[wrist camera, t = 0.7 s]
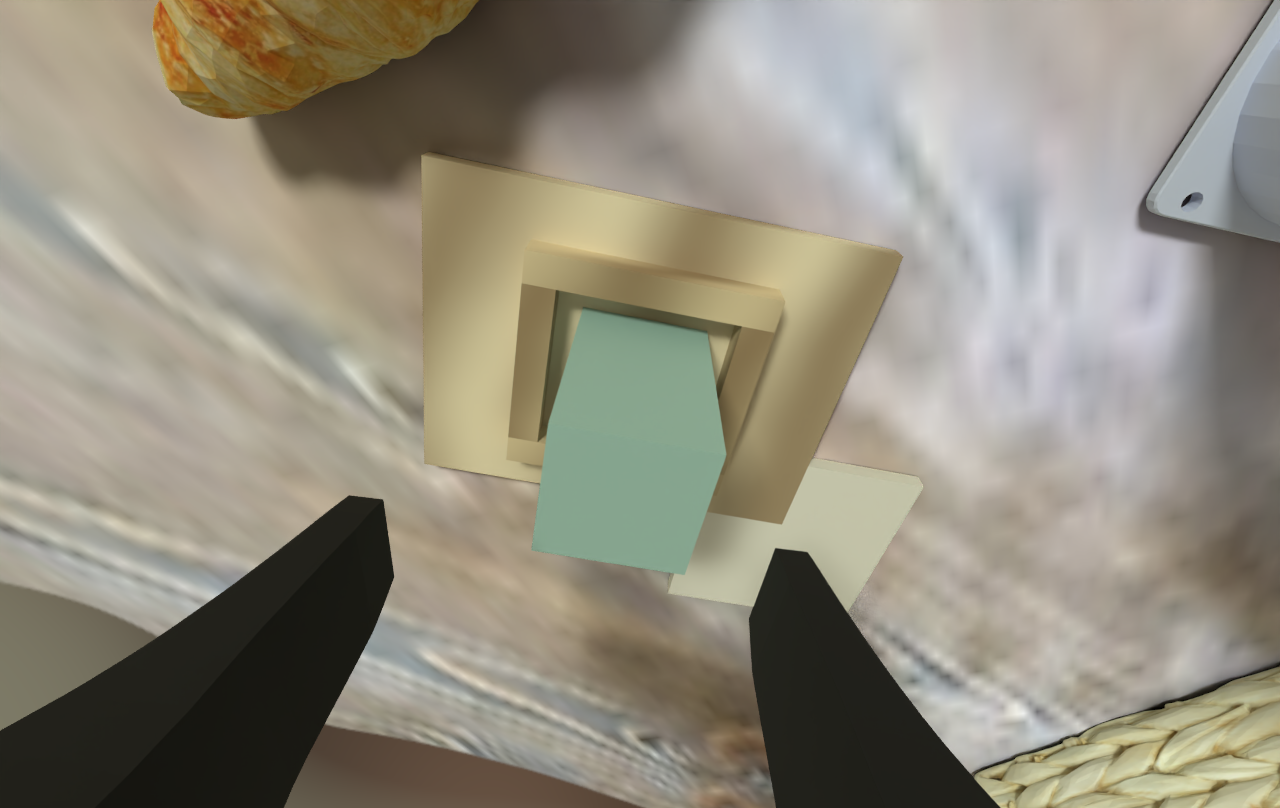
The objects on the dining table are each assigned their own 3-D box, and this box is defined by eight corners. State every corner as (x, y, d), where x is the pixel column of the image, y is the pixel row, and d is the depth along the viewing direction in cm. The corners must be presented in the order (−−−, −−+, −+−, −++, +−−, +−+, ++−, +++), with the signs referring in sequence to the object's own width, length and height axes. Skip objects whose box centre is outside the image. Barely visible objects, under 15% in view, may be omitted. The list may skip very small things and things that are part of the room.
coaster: (917, 476, 22) (923, 487, 21) (838, 609, 26) (842, 620, 26) (714, 440, 21) (715, 449, 21) (667, 582, 25) (667, 593, 25)
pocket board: (896, 250, 17) (916, 267, 16) (779, 514, 23) (786, 543, 22) (428, 151, 16) (407, 161, 15) (429, 454, 22) (414, 481, 21)
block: (707, 330, 18) (726, 455, 13) (678, 431, 20) (684, 575, 15) (583, 306, 18) (548, 423, 12) (567, 411, 20) (531, 550, 15)
